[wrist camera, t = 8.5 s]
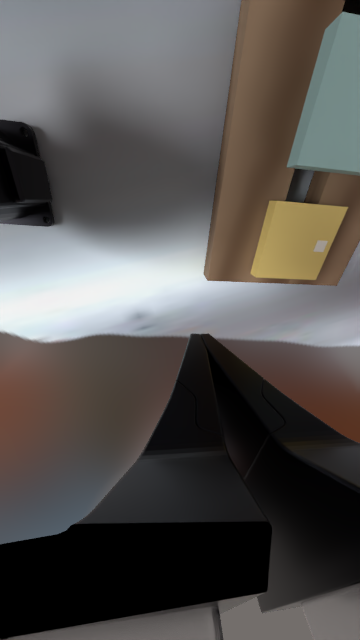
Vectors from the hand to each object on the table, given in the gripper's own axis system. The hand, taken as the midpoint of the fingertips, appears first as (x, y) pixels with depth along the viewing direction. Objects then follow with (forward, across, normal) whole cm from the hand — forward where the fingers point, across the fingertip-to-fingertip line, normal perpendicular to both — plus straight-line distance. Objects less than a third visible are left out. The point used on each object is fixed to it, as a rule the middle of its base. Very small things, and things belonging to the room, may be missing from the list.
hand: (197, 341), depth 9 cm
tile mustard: (+12, -10, -3) cm, 16 cm away
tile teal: (+11, -10, -11) cm, 18 cm away
